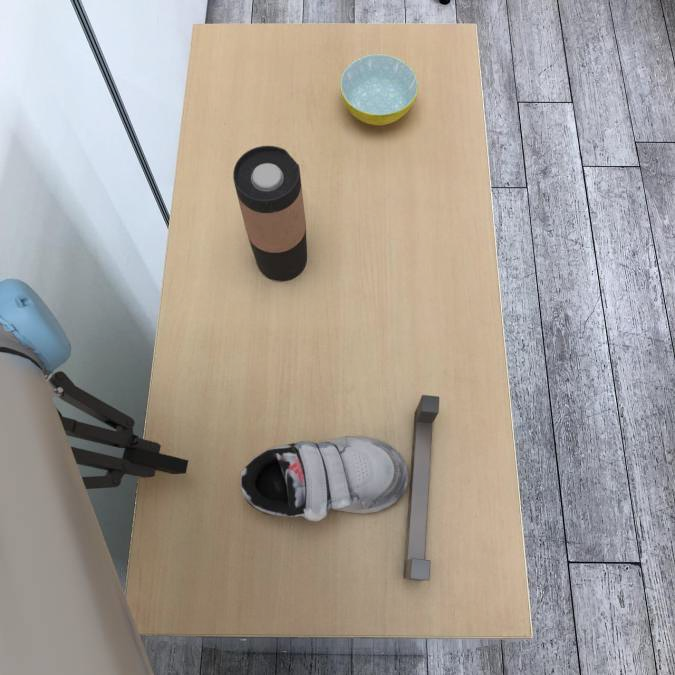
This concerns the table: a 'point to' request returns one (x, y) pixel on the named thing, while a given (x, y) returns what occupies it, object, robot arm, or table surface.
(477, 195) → the table surface
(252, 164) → the travel mug
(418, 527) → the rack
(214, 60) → the table surface
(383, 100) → the bowl
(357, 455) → the sneaker
